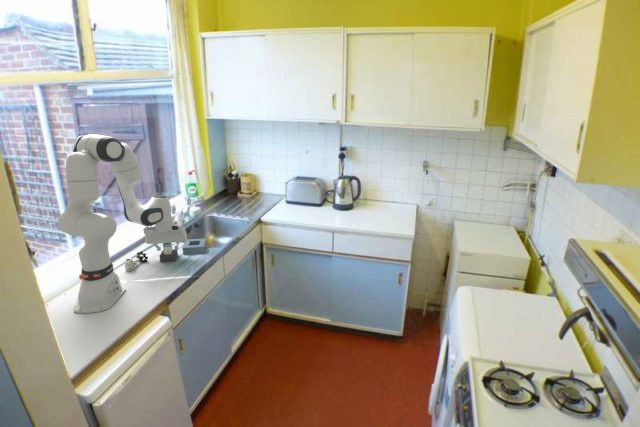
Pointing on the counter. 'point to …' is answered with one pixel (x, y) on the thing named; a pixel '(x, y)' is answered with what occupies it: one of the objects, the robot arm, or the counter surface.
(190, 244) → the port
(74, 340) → the counter surface
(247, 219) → the counter surface
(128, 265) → the valve
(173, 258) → the grey square container
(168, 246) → the plug
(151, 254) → the counter surface
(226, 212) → the counter surface
